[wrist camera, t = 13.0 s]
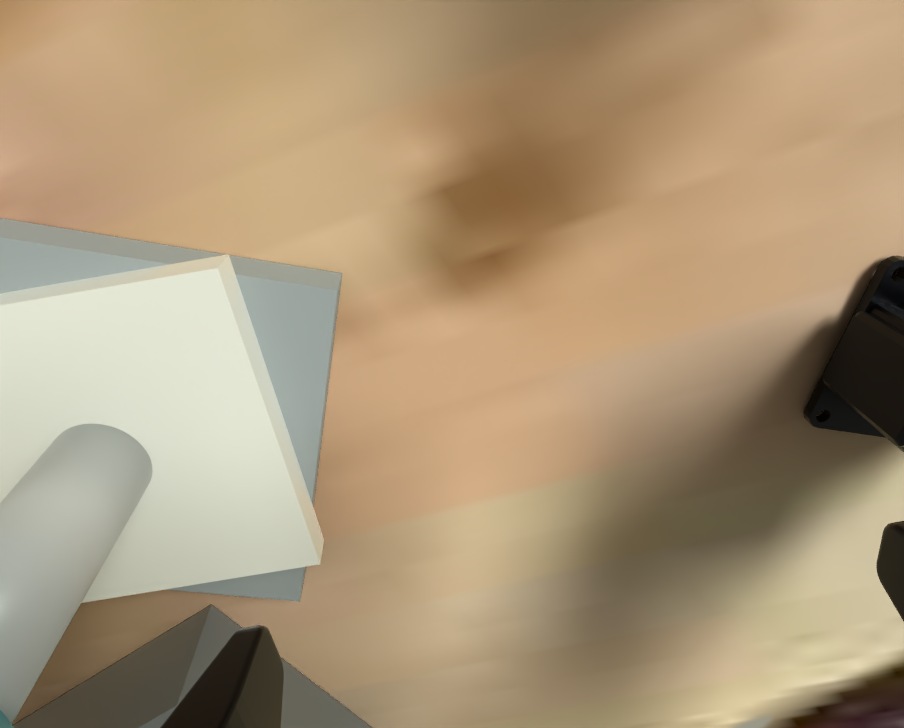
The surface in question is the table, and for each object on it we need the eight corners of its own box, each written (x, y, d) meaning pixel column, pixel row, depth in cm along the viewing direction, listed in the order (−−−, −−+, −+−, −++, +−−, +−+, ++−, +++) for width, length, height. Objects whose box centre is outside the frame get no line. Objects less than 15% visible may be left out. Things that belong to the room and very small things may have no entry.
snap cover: (228, 254, 18) (44, 485, 9) (324, 540, 23) (268, 875, 14) (-144, 318, 19) (-698, 609, 9) (31, 587, 24) (-212, 948, 14)
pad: (342, 273, 20) (337, 290, 19) (305, 572, 26) (300, 601, 25) (-110, 200, 19) (-150, 213, 17) (-42, 539, 24) (-68, 569, 23)
